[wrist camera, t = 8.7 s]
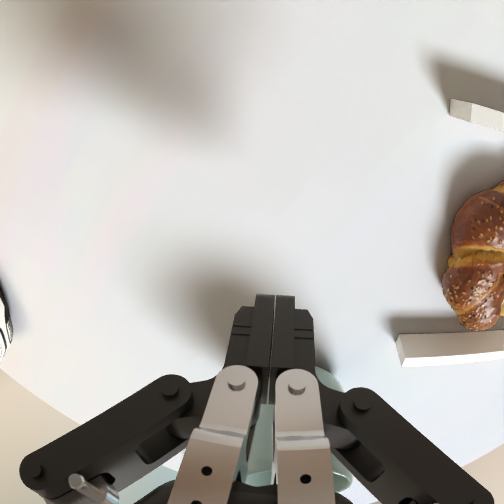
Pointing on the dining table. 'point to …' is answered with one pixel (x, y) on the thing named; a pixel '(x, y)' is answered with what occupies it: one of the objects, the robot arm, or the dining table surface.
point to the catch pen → (465, 343)
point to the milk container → (4, 328)
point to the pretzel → (477, 261)
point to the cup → (262, 444)
